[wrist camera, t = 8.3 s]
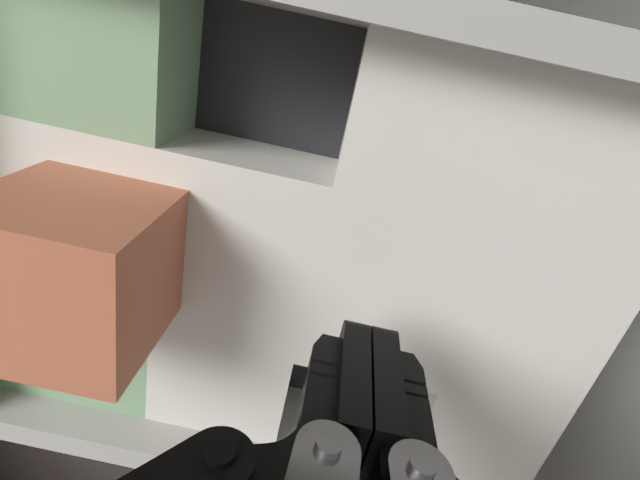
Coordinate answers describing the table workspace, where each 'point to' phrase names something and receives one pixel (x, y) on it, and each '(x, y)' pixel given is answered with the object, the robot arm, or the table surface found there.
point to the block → (86, 276)
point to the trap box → (347, 205)
